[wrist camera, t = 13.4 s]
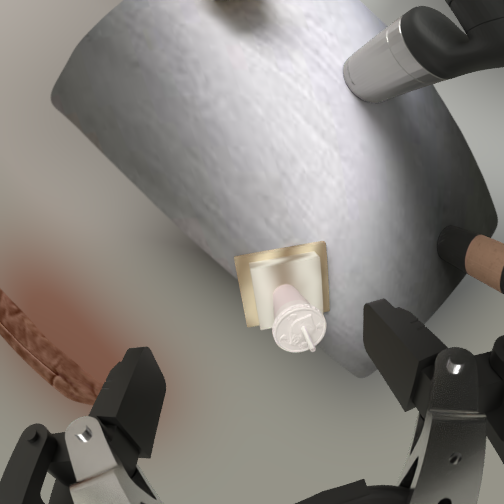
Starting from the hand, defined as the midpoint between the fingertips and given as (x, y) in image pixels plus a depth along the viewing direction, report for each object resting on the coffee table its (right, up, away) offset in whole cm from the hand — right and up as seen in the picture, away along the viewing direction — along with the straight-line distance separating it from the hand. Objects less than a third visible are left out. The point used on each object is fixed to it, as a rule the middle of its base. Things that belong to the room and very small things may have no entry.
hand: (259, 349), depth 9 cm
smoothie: (+5, -3, +30) cm, 31 cm away
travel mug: (+39, +5, +35) cm, 53 cm away
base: (+5, -2, +34) cm, 35 cm away
